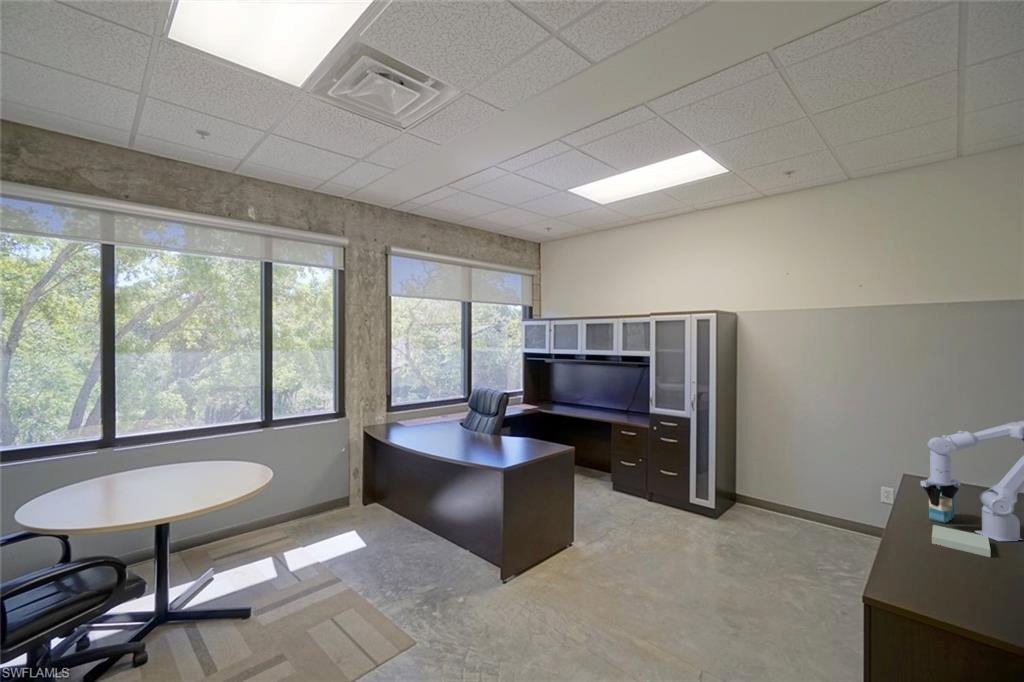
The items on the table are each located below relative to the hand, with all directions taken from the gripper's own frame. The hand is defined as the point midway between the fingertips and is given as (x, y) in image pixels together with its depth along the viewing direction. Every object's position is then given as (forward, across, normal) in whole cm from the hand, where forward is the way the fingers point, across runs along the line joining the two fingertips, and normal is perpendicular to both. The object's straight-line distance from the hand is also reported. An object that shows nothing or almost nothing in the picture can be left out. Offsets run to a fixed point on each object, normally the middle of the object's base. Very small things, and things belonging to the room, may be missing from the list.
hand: (940, 504), depth 167 cm
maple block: (+2, 0, 0) cm, 2 cm away
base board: (+9, +7, +12) cm, 17 cm away
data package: (+9, -9, -8) cm, 15 cm away
